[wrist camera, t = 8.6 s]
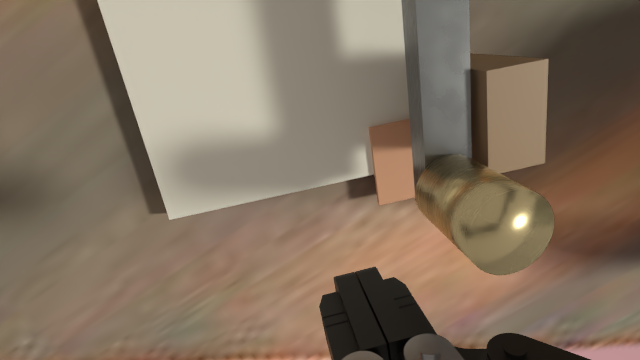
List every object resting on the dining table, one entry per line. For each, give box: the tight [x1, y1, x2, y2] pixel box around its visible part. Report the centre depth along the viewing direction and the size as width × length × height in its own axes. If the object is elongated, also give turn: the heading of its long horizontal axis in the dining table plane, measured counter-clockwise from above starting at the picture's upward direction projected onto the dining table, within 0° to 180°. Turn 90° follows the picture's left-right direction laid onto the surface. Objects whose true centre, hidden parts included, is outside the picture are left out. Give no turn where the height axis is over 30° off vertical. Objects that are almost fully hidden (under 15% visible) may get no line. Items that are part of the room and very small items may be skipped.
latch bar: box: [401, 0, 554, 275], centre depth 16 cm, size 17×4×7 cm, turn 8°
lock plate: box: [97, 0, 549, 220], centre depth 20 cm, size 20×19×7 cm
